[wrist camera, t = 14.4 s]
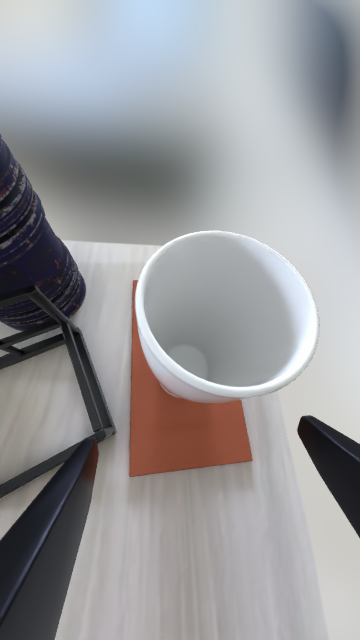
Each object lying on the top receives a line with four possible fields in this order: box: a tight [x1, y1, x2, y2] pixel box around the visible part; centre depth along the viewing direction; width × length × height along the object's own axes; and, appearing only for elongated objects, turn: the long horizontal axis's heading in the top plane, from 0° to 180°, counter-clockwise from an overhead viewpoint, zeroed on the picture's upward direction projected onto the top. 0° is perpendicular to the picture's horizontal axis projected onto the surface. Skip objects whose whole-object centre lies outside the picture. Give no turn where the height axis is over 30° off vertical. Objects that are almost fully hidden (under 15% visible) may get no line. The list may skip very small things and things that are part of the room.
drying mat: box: [129, 280, 252, 477], centre depth 21 cm, size 20×11×1 cm, turn 5°
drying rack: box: [0, 285, 117, 498], centre depth 14 cm, size 11×11×9 cm
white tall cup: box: [135, 231, 319, 404], centre depth 14 cm, size 7×7×15 cm
